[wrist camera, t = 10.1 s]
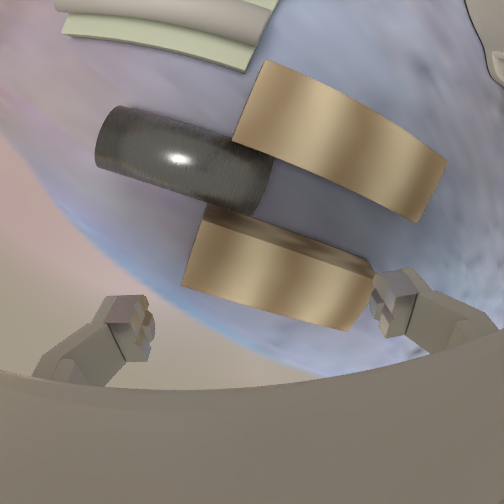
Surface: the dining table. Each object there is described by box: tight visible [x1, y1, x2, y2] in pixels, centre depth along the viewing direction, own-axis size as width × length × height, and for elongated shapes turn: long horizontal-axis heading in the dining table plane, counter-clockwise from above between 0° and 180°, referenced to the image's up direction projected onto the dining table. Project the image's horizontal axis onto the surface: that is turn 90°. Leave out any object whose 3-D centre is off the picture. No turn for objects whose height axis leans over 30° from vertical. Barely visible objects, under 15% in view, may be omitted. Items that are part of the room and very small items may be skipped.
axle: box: [95, 106, 273, 217], centre depth 20 cm, size 12×5×5 cm, turn 68°
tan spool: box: [181, 59, 448, 332], centre depth 23 cm, size 16×18×4 cm
